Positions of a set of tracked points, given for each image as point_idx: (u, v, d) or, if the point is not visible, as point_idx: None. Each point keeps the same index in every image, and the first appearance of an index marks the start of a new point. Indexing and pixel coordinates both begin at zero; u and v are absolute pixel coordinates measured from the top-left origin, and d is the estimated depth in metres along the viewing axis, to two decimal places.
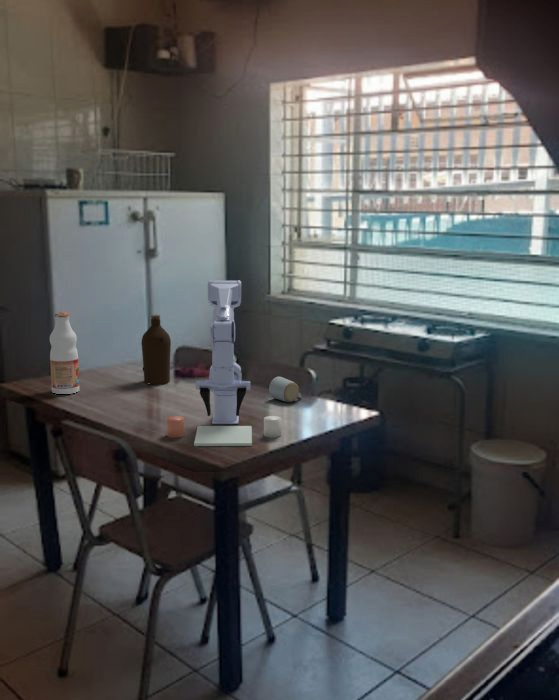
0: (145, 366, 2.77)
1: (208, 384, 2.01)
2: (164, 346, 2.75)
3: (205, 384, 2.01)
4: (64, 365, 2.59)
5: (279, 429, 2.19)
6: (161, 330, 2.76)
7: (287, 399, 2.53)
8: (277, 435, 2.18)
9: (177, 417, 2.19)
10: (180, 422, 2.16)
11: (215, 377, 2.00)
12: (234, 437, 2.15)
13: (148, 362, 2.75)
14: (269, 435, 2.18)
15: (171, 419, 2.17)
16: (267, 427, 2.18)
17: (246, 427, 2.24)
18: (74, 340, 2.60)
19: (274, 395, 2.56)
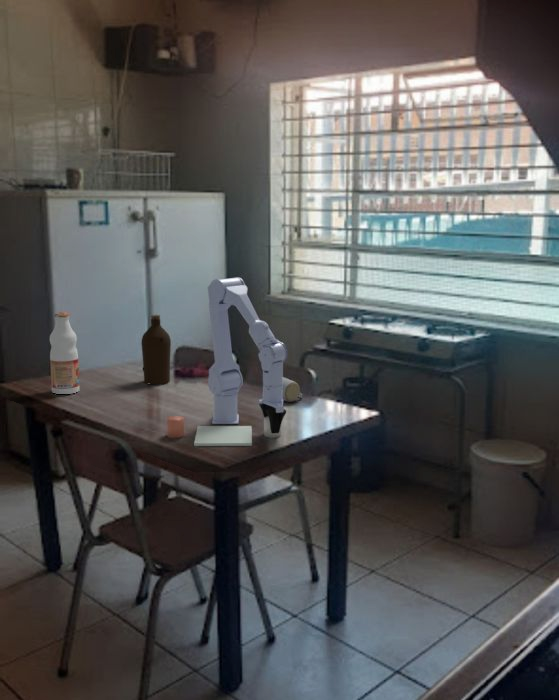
0: (145, 366, 2.77)
1: None
2: (164, 346, 2.75)
3: None
4: (64, 365, 2.59)
5: None
6: (161, 330, 2.76)
7: (288, 399, 2.54)
8: (277, 435, 2.18)
9: (177, 417, 2.19)
10: (180, 422, 2.16)
11: None
12: (234, 437, 2.15)
13: (148, 362, 2.75)
14: (269, 435, 2.18)
15: (171, 419, 2.17)
16: (267, 427, 2.18)
17: (246, 427, 2.24)
18: (74, 340, 2.60)
19: None
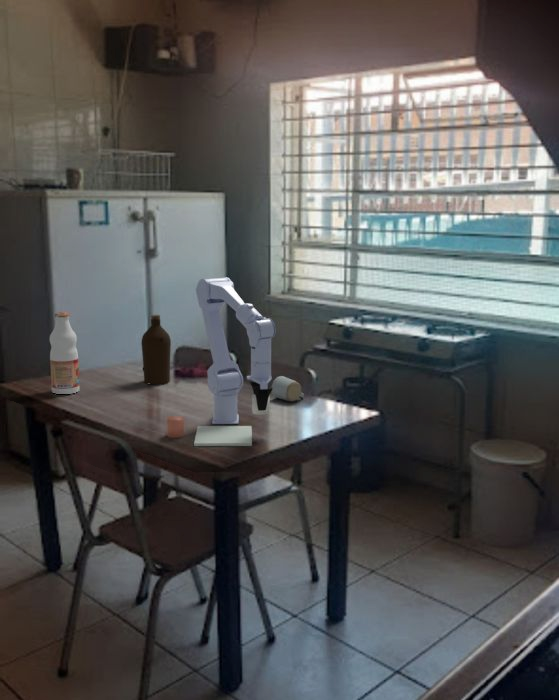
0: (145, 366, 2.77)
1: None
2: (164, 346, 2.75)
3: None
4: (64, 365, 2.59)
5: (267, 406, 2.16)
6: (161, 330, 2.76)
7: (289, 398, 2.54)
8: (264, 412, 2.16)
9: (177, 417, 2.19)
10: (180, 422, 2.16)
11: None
12: (234, 437, 2.15)
13: (148, 362, 2.75)
14: (256, 412, 2.16)
15: (171, 419, 2.17)
16: (254, 404, 2.16)
17: (246, 427, 2.24)
18: (74, 340, 2.60)
19: (276, 394, 2.57)
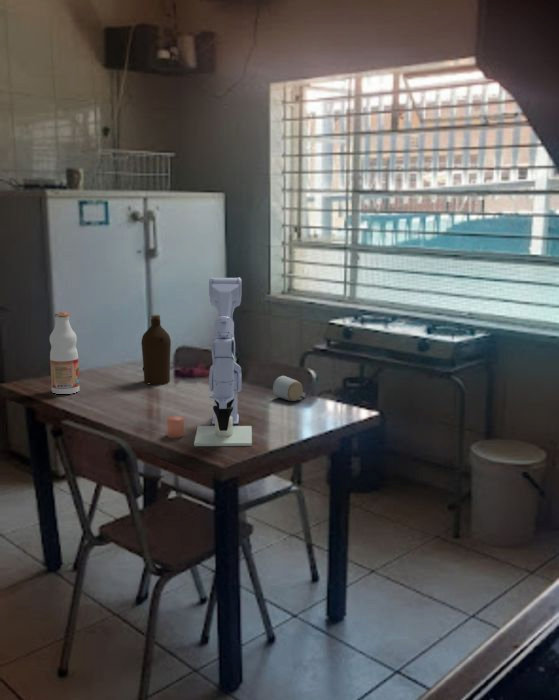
0: (145, 366, 2.77)
1: None
2: (164, 346, 2.75)
3: None
4: (64, 365, 2.59)
5: (229, 429, 2.15)
6: (161, 330, 2.76)
7: (291, 398, 2.54)
8: (226, 435, 2.15)
9: (177, 417, 2.19)
10: (180, 422, 2.16)
11: None
12: (234, 437, 2.15)
13: (148, 362, 2.75)
14: (218, 434, 2.16)
15: (171, 419, 2.17)
16: (216, 426, 2.16)
17: (246, 427, 2.24)
18: (74, 340, 2.60)
19: (278, 394, 2.57)
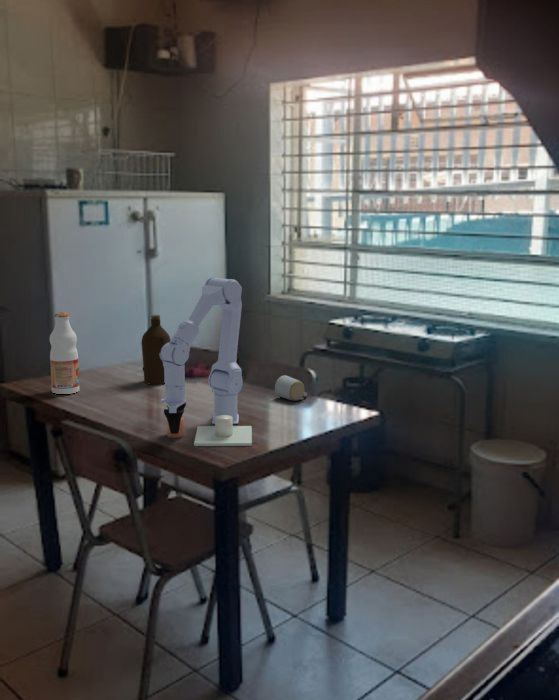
0: (145, 366, 2.77)
1: None
2: None
3: None
4: (64, 365, 2.59)
5: (229, 429, 2.15)
6: (161, 330, 2.76)
7: (293, 398, 2.55)
8: (226, 435, 2.15)
9: None
10: (180, 421, 2.16)
11: None
12: (234, 437, 2.15)
13: (148, 362, 2.75)
14: (218, 434, 2.16)
15: None
16: (216, 426, 2.16)
17: (246, 427, 2.24)
18: (74, 340, 2.60)
19: (280, 394, 2.58)
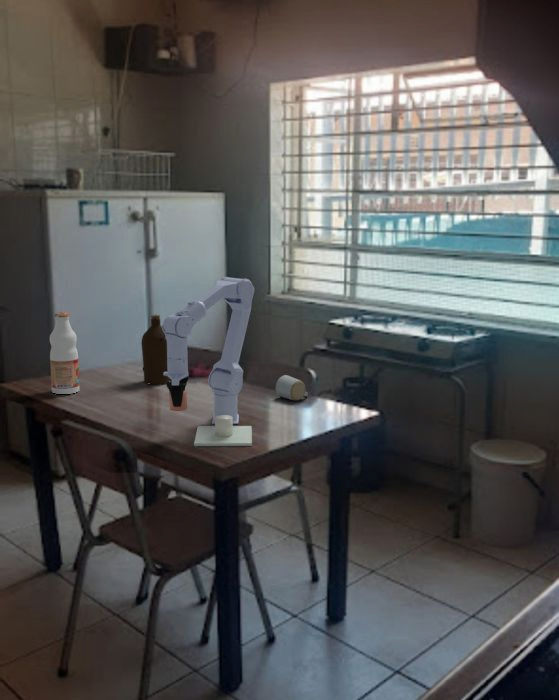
0: (145, 366, 2.77)
1: None
2: (164, 346, 2.75)
3: None
4: (64, 365, 2.59)
5: (229, 429, 2.15)
6: (161, 330, 2.76)
7: (293, 397, 2.55)
8: (226, 435, 2.15)
9: None
10: None
11: None
12: (234, 437, 2.15)
13: (148, 362, 2.75)
14: (218, 434, 2.16)
15: None
16: (216, 426, 2.16)
17: (246, 427, 2.24)
18: (74, 340, 2.60)
19: (281, 393, 2.58)
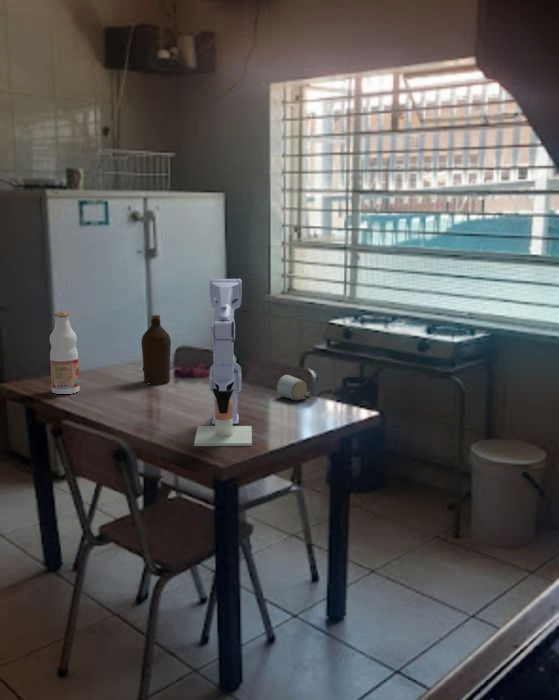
0: (145, 366, 2.77)
1: None
2: (164, 346, 2.75)
3: None
4: (64, 365, 2.59)
5: (229, 429, 2.15)
6: (161, 330, 2.76)
7: (295, 397, 2.56)
8: (226, 435, 2.15)
9: None
10: None
11: None
12: (234, 437, 2.15)
13: (148, 362, 2.75)
14: (218, 434, 2.16)
15: None
16: (216, 426, 2.16)
17: (246, 427, 2.24)
18: (74, 340, 2.60)
19: (282, 393, 2.59)
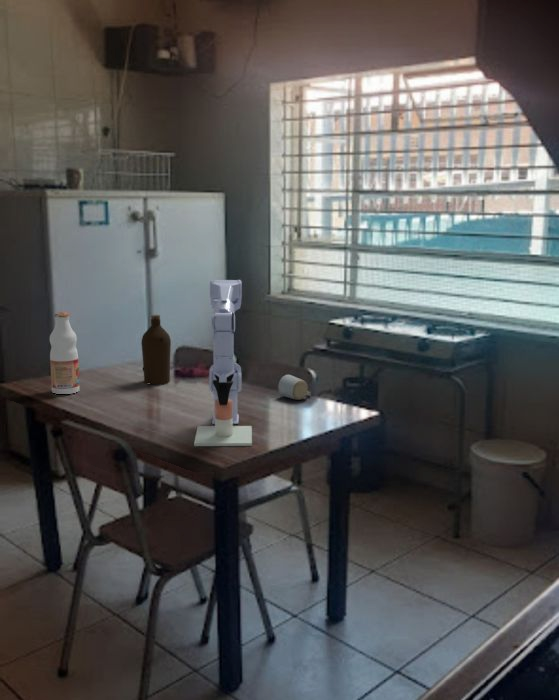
0: (145, 366, 2.77)
1: None
2: (164, 346, 2.75)
3: None
4: (64, 365, 2.59)
5: (229, 429, 2.15)
6: (161, 330, 2.76)
7: (296, 397, 2.56)
8: (226, 435, 2.15)
9: None
10: (228, 403, 2.14)
11: None
12: (234, 437, 2.15)
13: (148, 362, 2.75)
14: (218, 434, 2.16)
15: None
16: (216, 426, 2.16)
17: (246, 427, 2.24)
18: (74, 340, 2.60)
19: (283, 393, 2.59)
